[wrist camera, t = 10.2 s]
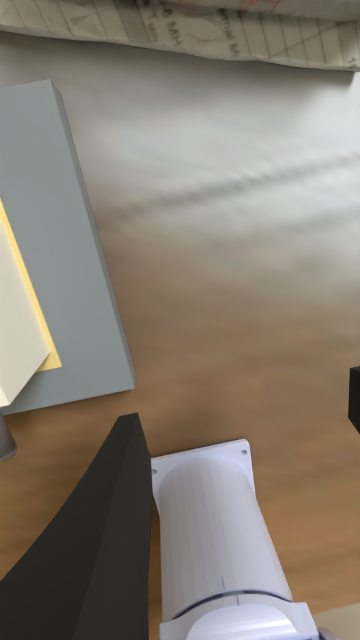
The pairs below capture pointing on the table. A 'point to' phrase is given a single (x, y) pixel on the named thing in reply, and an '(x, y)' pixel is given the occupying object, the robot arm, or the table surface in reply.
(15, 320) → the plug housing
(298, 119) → the table surface
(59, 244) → the board
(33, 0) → the packaged product
